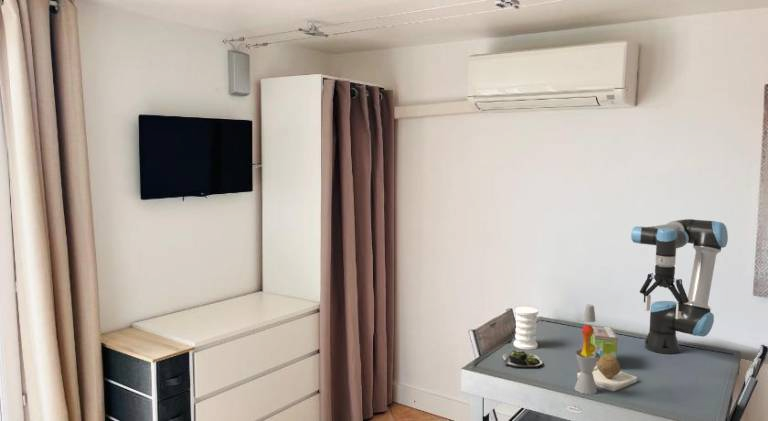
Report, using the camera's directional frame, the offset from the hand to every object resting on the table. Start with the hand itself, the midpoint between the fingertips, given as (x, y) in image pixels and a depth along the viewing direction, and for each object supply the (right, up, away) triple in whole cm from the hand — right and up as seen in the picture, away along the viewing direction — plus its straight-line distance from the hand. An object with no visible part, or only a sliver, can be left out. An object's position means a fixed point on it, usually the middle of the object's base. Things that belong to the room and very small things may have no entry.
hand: (662, 314), depth 249 cm
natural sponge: (-24, -26, -2) cm, 36 cm away
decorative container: (-48, -23, +40) cm, 67 cm away
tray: (-24, -27, -1) cm, 36 cm away
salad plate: (-55, -25, +18) cm, 64 cm away
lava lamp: (-36, -29, -11) cm, 48 cm away
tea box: (-19, -25, +19) cm, 37 cm away
